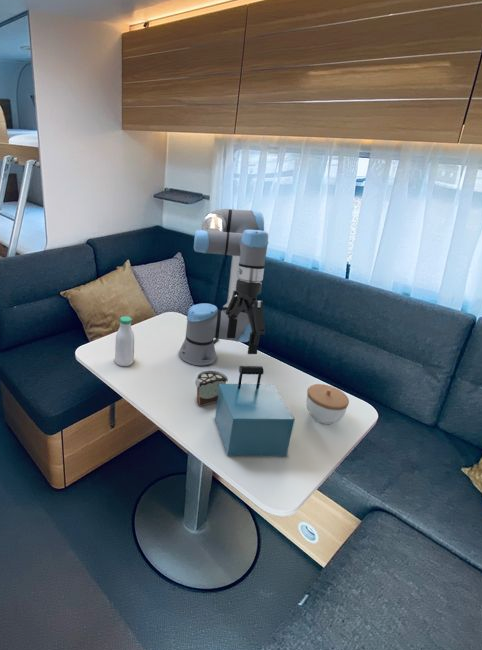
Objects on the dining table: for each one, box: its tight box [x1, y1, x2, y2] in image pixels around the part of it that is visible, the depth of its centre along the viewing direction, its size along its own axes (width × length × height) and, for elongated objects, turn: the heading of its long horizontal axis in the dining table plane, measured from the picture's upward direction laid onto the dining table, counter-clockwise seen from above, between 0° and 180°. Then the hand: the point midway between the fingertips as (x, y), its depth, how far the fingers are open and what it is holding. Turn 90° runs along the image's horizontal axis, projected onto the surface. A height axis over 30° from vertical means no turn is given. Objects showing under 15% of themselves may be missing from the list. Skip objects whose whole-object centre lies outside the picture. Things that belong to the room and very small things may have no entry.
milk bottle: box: [114, 315, 135, 367], centre depth 166 cm, size 8×8×20 cm
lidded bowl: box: [305, 383, 350, 425], centre depth 139 cm, size 13×13×11 cm
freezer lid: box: [219, 365, 295, 422], centre depth 125 cm, size 17×18×9 cm
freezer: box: [214, 388, 295, 457], centre depth 128 cm, size 16×18×13 cm
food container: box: [194, 370, 229, 407], centre depth 147 cm, size 12×6×10 cm, turn 111°
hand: (240, 345), depth 130 cm, fingers open, 13 cm apart
